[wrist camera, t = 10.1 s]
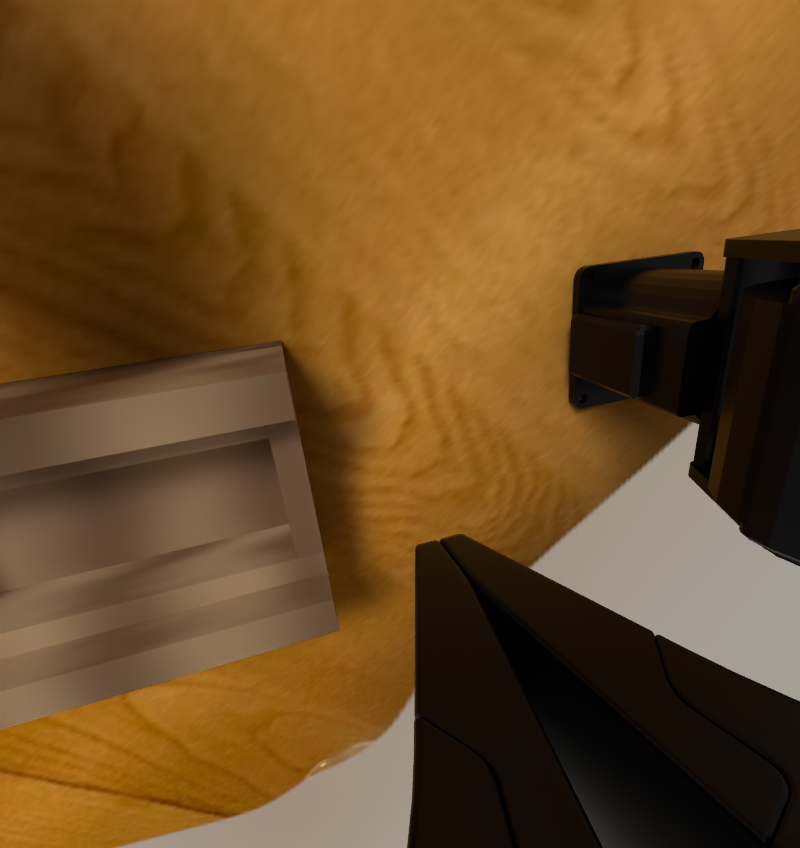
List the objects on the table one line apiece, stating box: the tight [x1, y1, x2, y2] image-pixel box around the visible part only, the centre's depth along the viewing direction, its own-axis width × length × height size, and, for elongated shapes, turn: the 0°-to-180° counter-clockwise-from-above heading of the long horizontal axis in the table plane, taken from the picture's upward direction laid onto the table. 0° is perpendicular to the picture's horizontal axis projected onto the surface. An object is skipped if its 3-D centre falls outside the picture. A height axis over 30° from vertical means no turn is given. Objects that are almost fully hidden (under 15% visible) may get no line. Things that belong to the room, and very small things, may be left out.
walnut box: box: [0, 341, 339, 730], centre depth 16 cm, size 14×10×5 cm
